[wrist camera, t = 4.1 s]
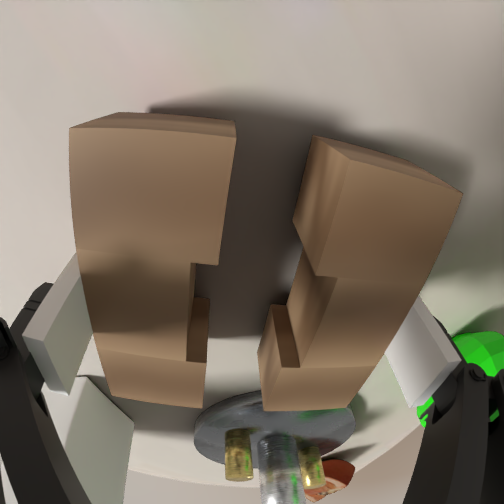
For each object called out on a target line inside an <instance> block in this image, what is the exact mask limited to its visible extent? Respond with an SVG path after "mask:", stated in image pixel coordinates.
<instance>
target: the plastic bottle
mask: <svg viewBox="0 0 504 504" xmlns="http://www.w3.org/2000/svg"><path fill="white" fill-rule="evenodd" d="M452 340H453V341H454V343H455V344H456V346H457V347H458V349H459V351H460V352H461V354H462V355H463V357H464V359H465V360H466V362H467V363H474V364H477V365H478V366H480V367H481V368H482V369H483V370H484V371H485V373H486V375H487V376H493V377H494V376H495V375H496V374H497V373H498V372H499V371H500V370H501V369H504V336H503V335H501V334H499V333H497V332H493V331H485V332H477V333H472V334H471V333H470V332H469V333H465V334H460V335H457V336H455V337H454V338H452ZM433 402H434V400H433V398H432V396H431V397H430V398H429V399H428V400H427V401H426V402H425V404H424V405H421V406H417V415H418V417H419V418H420V416H421V414H422V413H423V412H424V411H425V410H426V409H427V408H428V407H429V406H430V405H431V404H432V403H433ZM498 416H499V412H498V410H497V411H496V412H495V413H494V414H493V415H492V416H491V417H490V421H491V422H492V421H493V420H494V419H496V418H497V417H498ZM427 417H428V414H426V415H425V416H424V417H423V418H422V419H419V420H420V422H421V424H422V425H423V426H424V427H425V426H426V421H424V420H425V419H426V418H427Z"/></svg>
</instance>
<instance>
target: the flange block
mask: <svg viewBox="0 0 504 504" xmlns="http://www.w3.org/2000/svg"><path fill="white" fill-rule="evenodd" d="M236 139H237V137H236V128H235V121H230V120H222V119H214V118H205V117H195V116H184V115H171V114H155V113H130V112H118V113H114V114H111V115H107V116H104V117H101V118H98V119H95V120H91V121H88V122H85V123H82V124H79V125H77V126H74V127H71V128H69V172H70V193H71V207H72V218H73V228H74V236H75V244H76V251H77V258H78V265H79V271H80V275H81V280H82V285H83V290H84V295H85V300H86V305H87V310H88V314H89V318H90V323H91V327H92V331H93V336H94V340H95V344H96V347H97V351H98V354H99V358H100V361H101V365H102V368H103V371H104V374H105V377H106V380H107V383H108V386H109V389H110V392H111V395H112V396H116V397H121V398H127V399H132V400H138V401H145V402H151V403H158V404H166V405H174V406H182V407H192V408H202V404H203V394H204V383H205V373H206V363H207V342H208V324H209V307H210V299H208V298H198V297H194V286H195V273H196V263H200V264H209V265H218V261H219V254H220V246H221V239H222V232H223V225H224V218H225V211H226V204H227V197H228V190H229V184H230V177H231V171H232V164H233V158H234V152H235V145H236ZM462 195H463V193H461V192H460V191H458V190H457V189H455V188H453V187H452V186H450V185H449V184H447V183H445V182H444V181H442V180H440V179H439V178H437V177H435V176H434V175H432V174H430V173H429V172H427V171H425V170H423V169H422V168H420V167H418V166H416V165H414V164H413V163H411V162H409V161H407V160H404V159H401V158H398V157H395V156H391V155H388V154H385V153H381V152H378V151H375V150H371V149H368V148H364V147H360V146H356V145H353V144H349V143H345V142H341V141H337V140H333V139H328V138H324V137H320V136H315V135H312V139H311V144H310V148H309V152H308V157H307V161H306V165H305V170H304V174H303V178H302V182H301V187H300V191H299V195H298V199H297V203H296V207H295V212H294V216H293V220H292V221H293V223H294V225H295V228H296V230H297V232H298V235H299V237H300V239H301V242H302V244H303V250H302V254H301V257H300V261H299V264H298V268H297V271H296V274H295V278H294V281H293V284H292V288H291V291H290V294H289V298H288V301H287V304H286V305H274V304H271V305H270V308H269V312H268V316H267V319H266V323H265V326H264V330H263V334H262V337H261V341H260V344H259V348H258V351H257V354H258V364H259V373H260V382H261V391H262V400H263V410H264V411H305V410H323V409H337V408H346V407H347V406H348V404H349V403H350V402H351V400H352V399H353V398H354V396H355V395H356V394H357V392H358V391H359V390H360V388H361V387H362V385H363V384H364V383H365V381H366V380H367V378H368V377H369V375H370V374H371V373H372V371H373V370H374V368H375V367H376V365H377V364H378V362H379V361H380V359H381V358H382V356H383V355H384V353H385V351H386V349H387V348H388V346H389V345H390V343H391V341H392V340H393V338H394V337H395V335H396V333H397V332H398V330H399V328H400V327H401V325H402V323H403V321H404V320H405V318H406V316H407V314H408V313H409V311H410V309H411V307H412V305H413V304H414V303H415V301H416V299H417V297H418V295H419V293H420V291H421V289H422V287H423V285H424V284H425V282H426V280H427V278H428V276H429V274H430V271H431V269H432V267H433V265H434V263H435V261H436V259H437V257H438V255H439V252H440V250H441V248H442V246H443V243H444V241H445V239H446V236H447V234H448V232H449V229H450V227H451V224H452V222H453V219H454V217H455V214H456V212H457V209H458V206H459V204H460V201H461V198H462Z"/></svg>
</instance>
